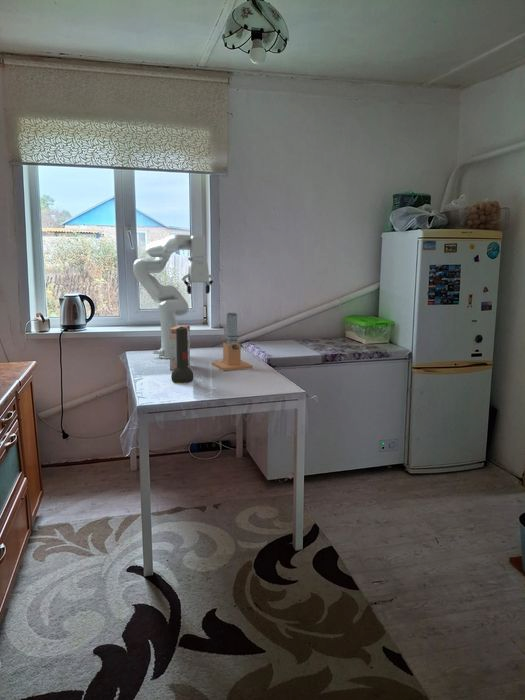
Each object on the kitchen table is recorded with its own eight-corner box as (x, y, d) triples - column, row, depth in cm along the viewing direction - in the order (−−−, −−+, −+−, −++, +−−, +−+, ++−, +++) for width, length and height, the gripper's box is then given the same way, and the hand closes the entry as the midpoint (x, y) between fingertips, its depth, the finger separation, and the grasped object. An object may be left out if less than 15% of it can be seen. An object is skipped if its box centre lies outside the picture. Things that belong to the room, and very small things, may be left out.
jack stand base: (223, 371, 248) (223, 347, 246) (211, 364, 262) (211, 341, 260) (252, 368, 255) (252, 344, 253) (239, 362, 269) (239, 340, 267)
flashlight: (167, 380, 229) (176, 384, 221) (166, 325, 224) (175, 328, 216) (187, 377, 234) (197, 381, 226) (187, 324, 230) (196, 326, 222)
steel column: (229, 352, 254) (229, 313, 250) (225, 350, 258) (225, 312, 254) (238, 351, 256) (238, 313, 252) (234, 350, 260) (234, 312, 256)
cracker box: (181, 371, 246) (180, 328, 242) (169, 370, 248) (168, 328, 244) (190, 365, 260) (190, 325, 256) (179, 364, 261) (179, 324, 257)
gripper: (184, 260, 250) (184, 294, 253) (216, 260, 258) (216, 293, 261) (179, 259, 257) (180, 293, 260) (211, 260, 264) (211, 292, 268)
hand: (198, 293), depth 260 cm, fingers open, 9 cm apart
